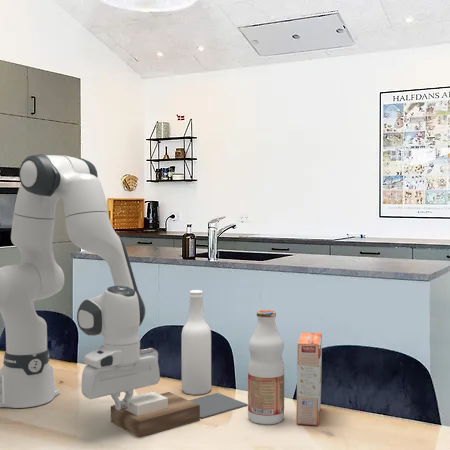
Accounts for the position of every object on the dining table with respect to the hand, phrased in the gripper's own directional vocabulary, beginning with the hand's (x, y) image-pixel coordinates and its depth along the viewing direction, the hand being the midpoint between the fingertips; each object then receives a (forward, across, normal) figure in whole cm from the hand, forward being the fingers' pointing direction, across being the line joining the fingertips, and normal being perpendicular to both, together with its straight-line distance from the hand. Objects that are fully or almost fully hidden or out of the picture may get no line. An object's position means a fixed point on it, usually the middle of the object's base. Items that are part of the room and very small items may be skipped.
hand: (122, 408), depth 146 cm
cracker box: (+6, -43, +23) cm, 49 cm away
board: (+5, -10, 0) cm, 11 cm away
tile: (+1, -7, 0) cm, 7 cm away
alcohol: (+6, -33, -13) cm, 36 cm away
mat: (+5, -28, 0) cm, 28 cm away
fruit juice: (+6, -33, +17) cm, 37 cm away
